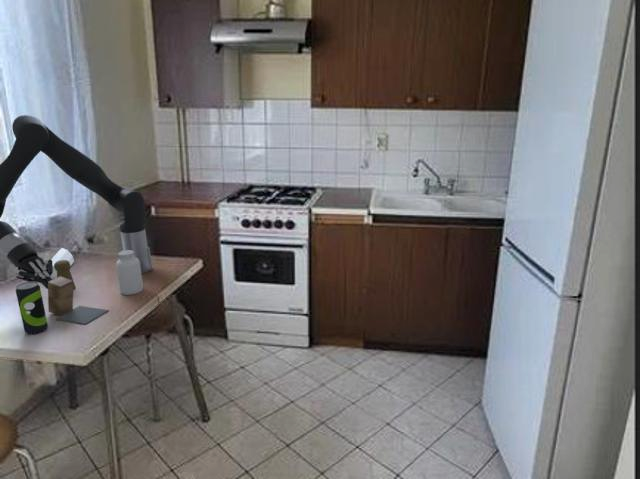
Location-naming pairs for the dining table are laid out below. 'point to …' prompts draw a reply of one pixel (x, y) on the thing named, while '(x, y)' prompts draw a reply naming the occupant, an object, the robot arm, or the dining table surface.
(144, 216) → the robot arm
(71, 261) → the crystal
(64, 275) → the cork
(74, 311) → the rubber mat
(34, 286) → the beverage can
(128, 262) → the pill bottle
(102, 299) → the dining table surface
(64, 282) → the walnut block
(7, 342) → the dining table surface
